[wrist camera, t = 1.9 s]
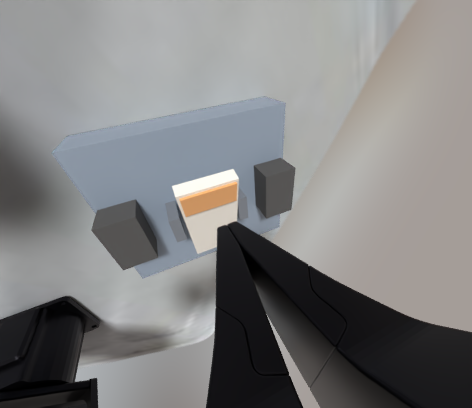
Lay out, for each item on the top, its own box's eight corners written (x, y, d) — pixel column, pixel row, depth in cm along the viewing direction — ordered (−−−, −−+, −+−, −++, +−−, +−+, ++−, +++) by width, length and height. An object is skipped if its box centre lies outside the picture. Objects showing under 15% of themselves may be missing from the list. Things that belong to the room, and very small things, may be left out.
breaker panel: (265, 210, 23) (291, 241, 19) (142, 253, 20) (143, 301, 16) (264, 96, 16) (306, 108, 12) (67, 136, 12) (34, 171, 9)
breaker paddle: (232, 232, 18) (236, 241, 17) (195, 245, 17) (198, 255, 17) (233, 168, 11) (240, 180, 11) (171, 186, 10) (176, 199, 10)
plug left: (156, 238, 16) (158, 257, 14) (124, 249, 15) (123, 270, 14) (135, 199, 13) (135, 217, 12) (97, 210, 13) (91, 230, 11)
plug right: (278, 197, 18) (291, 209, 17) (255, 205, 18) (266, 218, 16) (280, 157, 16) (295, 168, 14) (253, 165, 15) (266, 176, 14)
